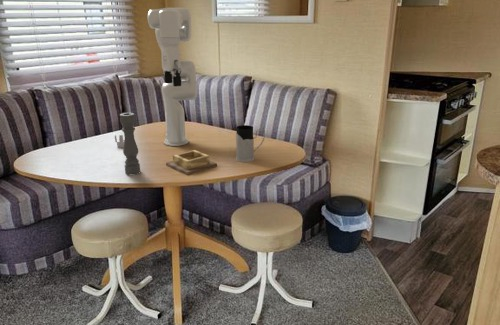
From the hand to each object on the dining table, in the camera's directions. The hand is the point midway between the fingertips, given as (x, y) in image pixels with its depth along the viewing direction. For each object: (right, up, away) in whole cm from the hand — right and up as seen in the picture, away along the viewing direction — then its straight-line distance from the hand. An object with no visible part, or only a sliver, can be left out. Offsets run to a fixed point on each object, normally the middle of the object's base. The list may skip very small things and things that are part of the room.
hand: (172, 84), depth 174 cm
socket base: (+7, -34, +9) cm, 36 cm away
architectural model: (-37, -25, +38) cm, 59 cm away
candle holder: (-17, -37, +2) cm, 41 cm away
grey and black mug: (+33, -31, +19) cm, 49 cm away
